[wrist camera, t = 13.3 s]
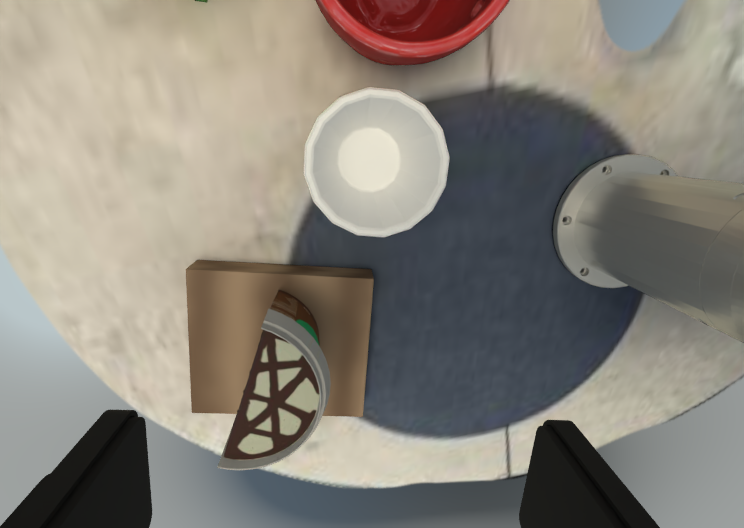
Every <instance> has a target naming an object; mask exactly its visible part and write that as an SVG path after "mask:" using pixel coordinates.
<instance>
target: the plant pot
mask: <svg viewBox="0 0 744 528" xmlns="http://www.w3.org/2000/svg"><path fill="white" fill-rule="evenodd" d="M509 1H510V0H316V2H317V4H318V6H319V8H320V10H321V12H322V14H323V15H324V17H325V18H326V20H327V22H328V23H329V25H330V26H331V27H332V29H333V30H334V31H335V32H336V33H337V34H338V35H339V36H340V37H341V38H342V39H343V40H344V41H345V42H346V43H347V44H348V45H349V46H351V47H352V48H353V49H354V50H355V51H357V52H358V53H359V54H361V55H362V56H364V57H366V58H368V59H370V60H372V61H375V62H378V63H382V64H386V65H415V64H422V63H427V62H431V61H435V60H438V59H440V58H443V57H446V56H448V55H450V54H452V53H454V52H455V51H457V50H459V49H461V48H463V47H464V46H465V45H467V44H468V43H470V42H471V41H472V40H474V39H475V38H476V37H477V36H479V35H480V34H481V33H482V32H483V31H485V30H486V29H487V28H488V27H489V26H490V25H491V24H492V23H493V22H494V20H495V19H496V18H497V17H498V16H499V15H500V13H501V12H502V11H503V9H504V8H505V7H506V5H507V4H508V2H509Z"/></svg>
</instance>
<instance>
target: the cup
mask: <svg viewBox="0 0 744 528" xmlns="http://www.w3.org/2000/svg"><path fill="white" fill-rule="evenodd" d="M449 159H450V157H449V153H448V149H447V145H446V141H445V137H444V133H443V129H442V128H441V126H440V125H439V123H438V122H437V121H436V119H435V118H434V117H433V115H432V114H431V113H430V111H429V110H428V109H427V107H426V106H425V105H424V104H422V103H420V102H419V101H417V100H415V99H414V98H412V97H410V96H408V95H407V94H405V93H403V92H401V91H400V90H394V89H384V88H375V87H367V88H364V89H361V90H358V91H355V92H352V93H349V94H346V95H343V96H340V97H339V98H338V99H337V100H336V101H335V102H334V103H332V104H331V105H330V106H329V107H328V108H327V109H326V110H325V111H324V112H322V113H321V114H320V115H319V116H318V117H317V120H316V122H315V124H314V126H313V128H312V130H311V132H310V135H309V137H308V139H307V141H306V143H305V155H304V177H305V179H306V182H307V185H308V188H309V191H310V194H311V196H312V199H313V202H314V203H315V204H316V205H317V206H318V207H319V209H320V210H321V211H322V212H323V213H324V214H325V215H326V216H327V218H328V219H329V220H330V221H331V222H332V223H333V224H335V225H337V226H339V227H341V228H343V229H345V230H347V231H349V232H352V233H354V234H356V235H361V236H374V237H387V236H390V235H393V234H396V233H399V232H402V231H405V230H408V229H411V228H412V227H413V226H415V225H416V224H417V223H418V222H419V221H421V220H422V219H423V218H424V217H425V216H427V215H428V214H429V213H430V212H431V211H432V210H433V208H434V207H435V205H436V203H437V201H438V199H439V198H440V196H441V194H442V192H443V190H444V189H445V187H446V181H447V174H448V166H449Z"/></svg>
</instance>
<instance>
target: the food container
mask: <svg viewBox="0 0 744 528" xmlns="http://www.w3.org/2000/svg"><path fill="white" fill-rule="evenodd" d="M261 329H263V332H262V334H261V338H260V342H259V344H258V348H257V352H256V355H255V358H254V361H253V364H252V368H251V370H250V372H249V377H248V381H247V384H246V386H245V389H244V390H243V396H242V399H241V403H240V406H239V409H238V410H237V415H236V418H235V421H234V424H233V427H232V429H231V432H230V435H229V437H228V440H227V443H226V446H225V448H224V451H223V454H222V456H221V459H220V462H219V464H218V468H222V469H228V470H249V469H257V468H261V467H265V466H269V465H271V464H274V463H277V462H279V461H281V460H283V459H284V458H286V457H288V456H290V455H291V454H292V453H294V452H295V451H296V450H298V449H299V448H300V447H301V446H302V445H303V444H304V443H305V442H306V441H307V439H308V438H309V437H310V436H311V435H312V433H313V432H314V431H315V429H316V428H317V426H318V424H319V422H320V420H321V418H322V415H323V413H324V411H325V408H326V406H327V403H328V399H329V395H330V384H331V382H330V371H329V368H328V364H327V361H326V358H325V356H324V354H323V352H322V350H321V348H320V342H319V330H318V326H317V323H316V321H315V318H314V316H313V315H312V313H311V312H310V310H309V309H308V308H307V307H306V306H305V305H304V304H303V303H302V302H301V301H300V300H299V299H297V298H296V297H294V296H292V295H291V294H289V293H287V292H284V291H281V290H278V292H277V294H276V296H275V298H274V301H273V303H272V305H271V307H270V309H268V311H267V314H266V316H265V319H264V322H263V325H262V327H261Z"/></svg>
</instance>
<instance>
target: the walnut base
mask: <svg viewBox="0 0 744 528" xmlns="http://www.w3.org/2000/svg"><path fill="white" fill-rule="evenodd" d="M373 283H374V278H373V274H372V269H357V268H338V267H320V266H301V265H282V264H264V263H245V262H226V261H208V260H197V261H195V262H194V263H193V264H192V265H190V266H189V267H188V268H187V269H186V285H187V308H188V332H189V355H190V379H191V402H192V413H226V414H237V410H238V409H239V406H240V403H241V399H242V396H243V390H244V389H245V386H246V384H247V381H248V377H249V372H250V370H251V368H252V364H253V361H254V358H255V355H256V352H257V348H258V344H259V342H260V338H261V334H262V332H263V329H261V327H262V325H263V322H264V319H265V316H266V314H267V311H268V309H270V307H271V305H272V303H273V301H274V298H275V296H276V294H277V292H278V290H281V291H284V292H287V293H289V294H291V295H292V296H294V297H296V298H297V299H299V300H300V301H301V302H302V303H303V304H304V305H305V306H306V307H307V308H308V309H309V310H310V312H311V313H312V315H313V316H314V318H315V321H316V323H317V326H318V330H319V342H320V348H321V350H322V352H323V354H324V356H325V358H326V361H327V364H328V368H329V371H330V382H331V384H330V395H329V399H328V403H327V406H326V408H325V411H324V413H323V415H322V416H355V417H363V406H364V393H365V381H366V369H367V357H368V344H369V332H370V320H371V307H372V295H373Z"/></svg>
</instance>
